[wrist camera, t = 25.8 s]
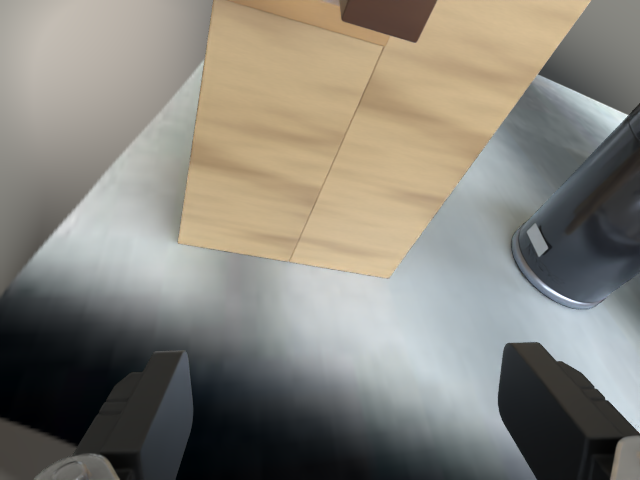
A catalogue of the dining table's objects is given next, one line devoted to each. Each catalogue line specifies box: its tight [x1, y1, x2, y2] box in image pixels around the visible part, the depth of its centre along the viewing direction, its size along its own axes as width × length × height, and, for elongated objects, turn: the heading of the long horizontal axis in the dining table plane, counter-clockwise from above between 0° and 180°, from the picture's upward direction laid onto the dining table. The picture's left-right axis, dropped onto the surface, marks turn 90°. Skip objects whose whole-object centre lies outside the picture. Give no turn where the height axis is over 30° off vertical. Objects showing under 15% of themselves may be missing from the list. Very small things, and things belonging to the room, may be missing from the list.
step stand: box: [178, 0, 591, 278], centre depth 27 cm, size 10×16×32 cm, turn 92°
